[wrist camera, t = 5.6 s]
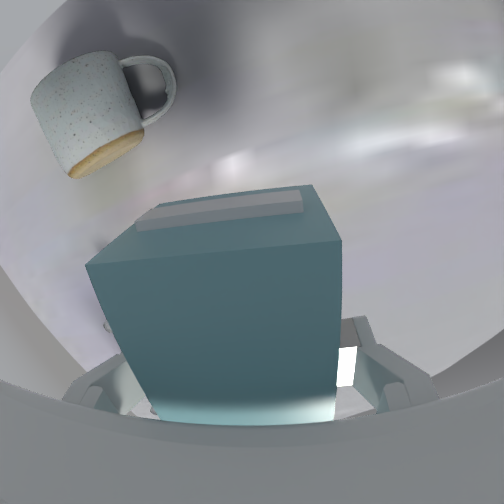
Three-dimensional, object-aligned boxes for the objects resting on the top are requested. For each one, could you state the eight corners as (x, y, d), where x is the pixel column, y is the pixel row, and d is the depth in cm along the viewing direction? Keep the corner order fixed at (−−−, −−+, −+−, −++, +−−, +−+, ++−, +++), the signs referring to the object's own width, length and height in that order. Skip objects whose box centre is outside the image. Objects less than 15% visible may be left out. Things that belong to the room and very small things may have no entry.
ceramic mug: (99, 174, 24) (48, 196, 17) (67, 103, 21) (12, 106, 14) (198, 115, 22) (167, 111, 15) (159, 37, 19) (118, 10, 12)
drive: (311, 176, 10) (341, 224, 5) (318, 385, 14) (326, 470, 9) (157, 196, 10) (80, 253, 6) (213, 389, 15) (195, 469, 10)
